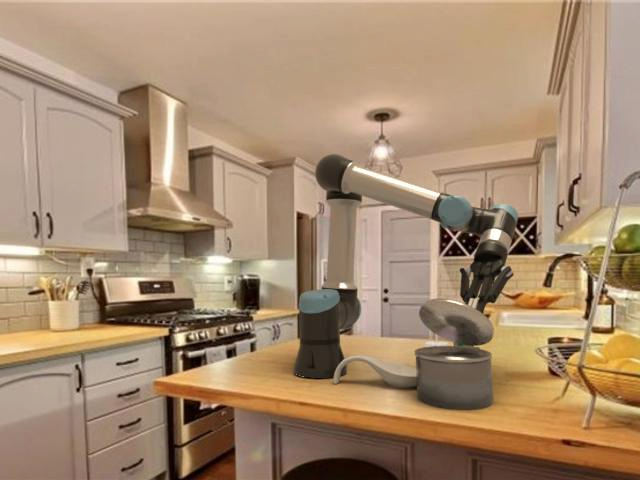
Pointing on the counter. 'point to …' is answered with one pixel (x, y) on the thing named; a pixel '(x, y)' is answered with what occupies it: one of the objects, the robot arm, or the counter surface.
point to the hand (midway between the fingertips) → (468, 324)
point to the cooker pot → (454, 377)
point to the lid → (456, 322)
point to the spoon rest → (383, 371)
